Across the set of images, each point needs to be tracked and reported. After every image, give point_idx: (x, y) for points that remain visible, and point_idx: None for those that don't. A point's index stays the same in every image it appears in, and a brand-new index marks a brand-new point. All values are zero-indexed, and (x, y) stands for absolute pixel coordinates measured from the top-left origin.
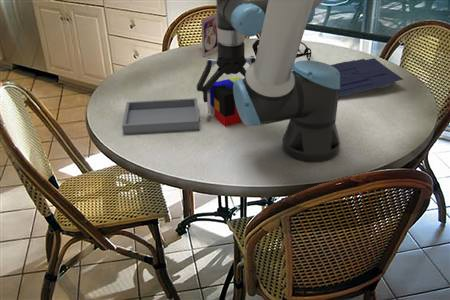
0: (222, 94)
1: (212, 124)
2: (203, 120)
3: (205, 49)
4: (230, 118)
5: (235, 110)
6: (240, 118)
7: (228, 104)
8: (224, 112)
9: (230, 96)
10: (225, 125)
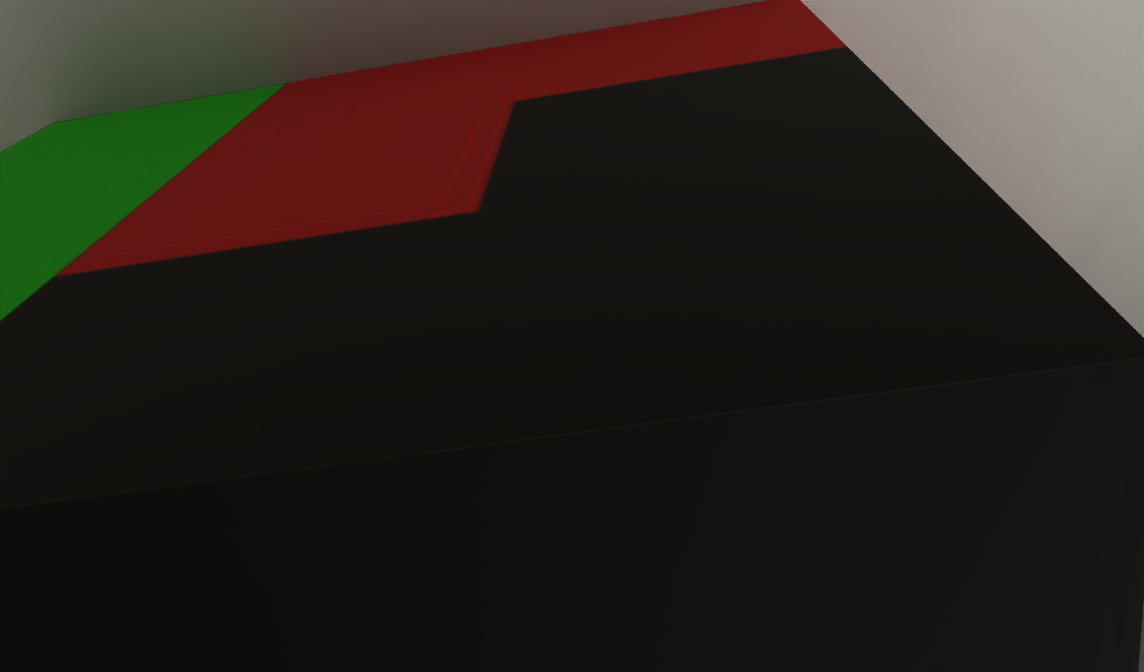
0: (1134, 560)
1: None
2: None
3: None
4: (656, 55)
5: (482, 140)
6: (375, 87)
7: (765, 178)
8: (877, 90)
9: (687, 349)
10: (783, 7)
